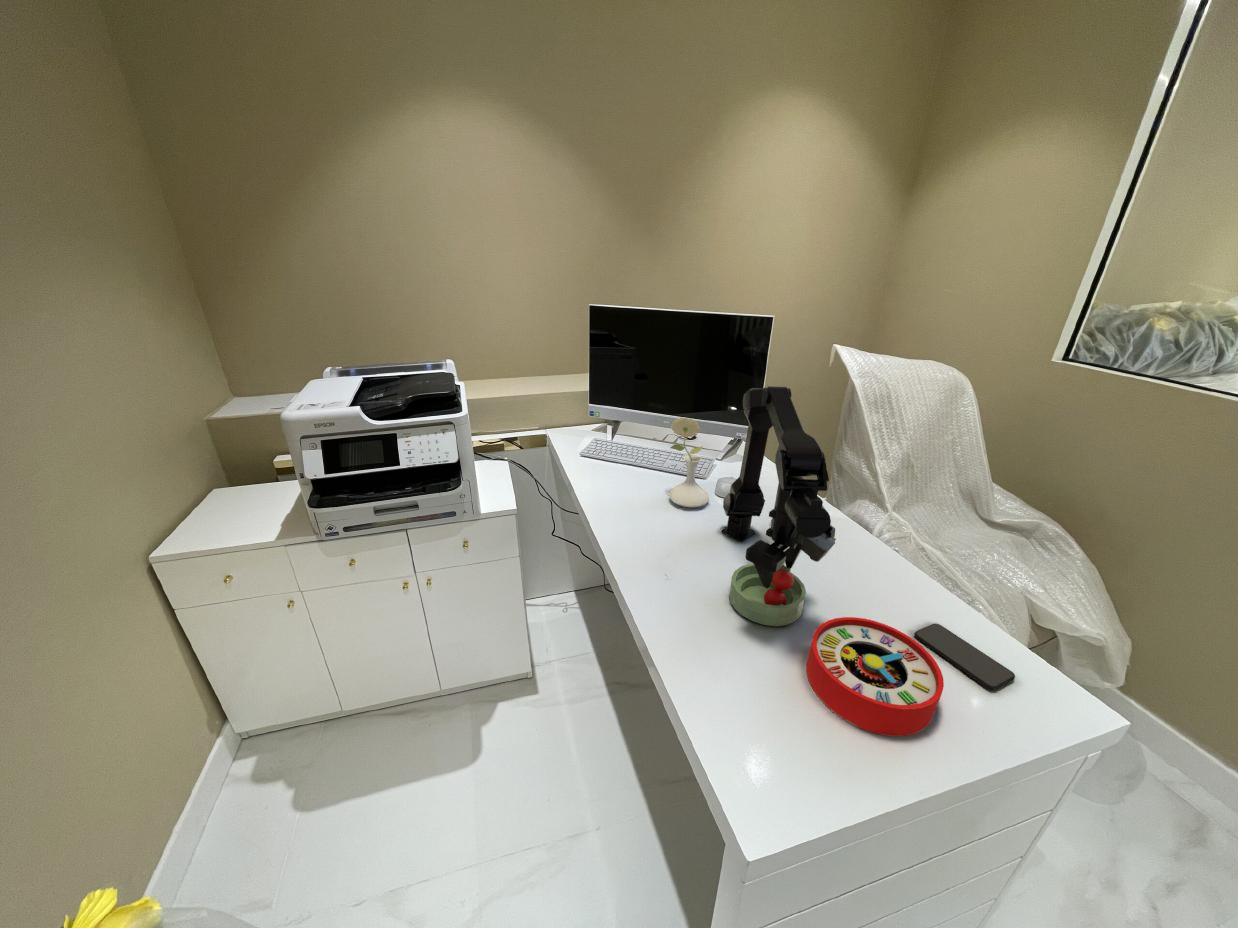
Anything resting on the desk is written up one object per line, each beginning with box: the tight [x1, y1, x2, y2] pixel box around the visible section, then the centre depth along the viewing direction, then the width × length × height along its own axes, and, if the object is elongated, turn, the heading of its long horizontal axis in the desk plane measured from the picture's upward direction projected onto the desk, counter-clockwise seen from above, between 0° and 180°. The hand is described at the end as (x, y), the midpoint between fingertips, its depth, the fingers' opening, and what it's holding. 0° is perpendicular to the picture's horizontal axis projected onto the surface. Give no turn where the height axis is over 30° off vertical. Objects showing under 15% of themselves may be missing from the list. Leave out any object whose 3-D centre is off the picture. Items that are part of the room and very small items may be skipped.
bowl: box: [728, 563, 807, 627], centre depth 104 cm, size 15×15×5 cm
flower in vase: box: [668, 416, 710, 508], centre depth 140 cm, size 13×11×25 cm
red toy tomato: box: [772, 565, 794, 591], centre depth 102 cm, size 4×4×5 cm
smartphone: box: [913, 623, 1016, 691], centre depth 92 cm, size 7×1×15 cm
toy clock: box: [805, 616, 945, 737], centre depth 85 cm, size 20×6×20 cm
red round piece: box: [764, 589, 786, 606], centre depth 102 cm, size 4×4×5 cm
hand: (777, 577), depth 99 cm, fingers open, 9 cm apart
